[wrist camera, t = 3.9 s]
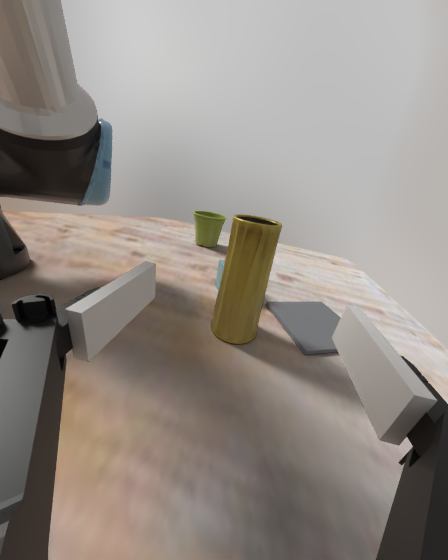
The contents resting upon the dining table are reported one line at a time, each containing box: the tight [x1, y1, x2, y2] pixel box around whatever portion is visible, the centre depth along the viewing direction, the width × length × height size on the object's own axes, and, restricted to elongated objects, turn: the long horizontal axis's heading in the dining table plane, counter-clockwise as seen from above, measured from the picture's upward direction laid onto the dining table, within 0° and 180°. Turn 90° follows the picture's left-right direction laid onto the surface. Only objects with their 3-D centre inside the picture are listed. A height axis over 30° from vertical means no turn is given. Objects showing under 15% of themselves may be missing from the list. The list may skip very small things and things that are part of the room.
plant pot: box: [193, 211, 227, 247], centre depth 59 cm, size 9×9×9 cm
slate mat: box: [266, 302, 341, 355], centre depth 32 cm, size 11×11×1 cm
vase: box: [211, 215, 282, 344], centre depth 25 cm, size 6×6×14 cm
